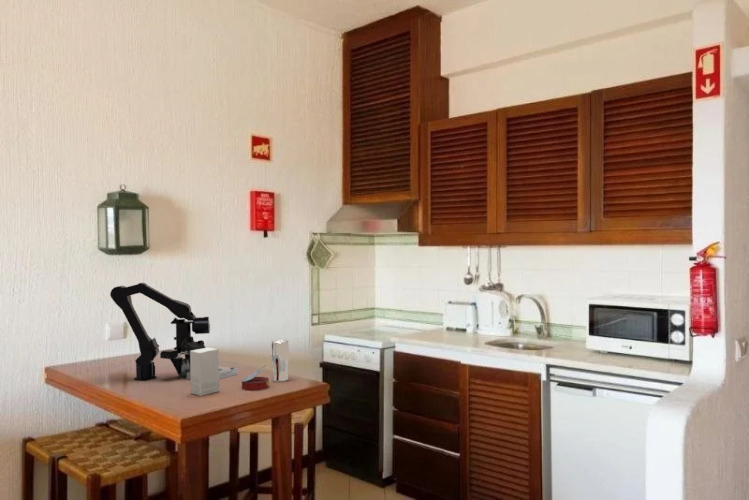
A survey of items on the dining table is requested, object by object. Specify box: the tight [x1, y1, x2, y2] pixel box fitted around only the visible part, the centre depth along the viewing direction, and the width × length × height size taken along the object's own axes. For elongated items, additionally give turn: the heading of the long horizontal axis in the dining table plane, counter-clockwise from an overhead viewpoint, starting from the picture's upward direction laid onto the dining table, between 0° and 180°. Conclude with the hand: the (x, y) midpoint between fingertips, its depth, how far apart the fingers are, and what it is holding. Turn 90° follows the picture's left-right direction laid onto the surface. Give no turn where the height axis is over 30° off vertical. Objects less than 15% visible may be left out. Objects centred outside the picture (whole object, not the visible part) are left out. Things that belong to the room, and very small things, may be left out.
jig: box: [186, 365, 239, 380], centre depth 241 cm, size 16×12×3 cm
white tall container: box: [270, 339, 290, 383], centre depth 232 cm, size 7×7×15 cm
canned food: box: [241, 365, 270, 391], centre depth 220 cm, size 11×10×10 cm
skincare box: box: [190, 346, 220, 397], centre depth 213 cm, size 8×7×16 cm
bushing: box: [177, 357, 191, 379], centre depth 241 cm, size 4×4×7 cm
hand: (184, 372), depth 241 cm, fingers closed on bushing, 4 cm apart
